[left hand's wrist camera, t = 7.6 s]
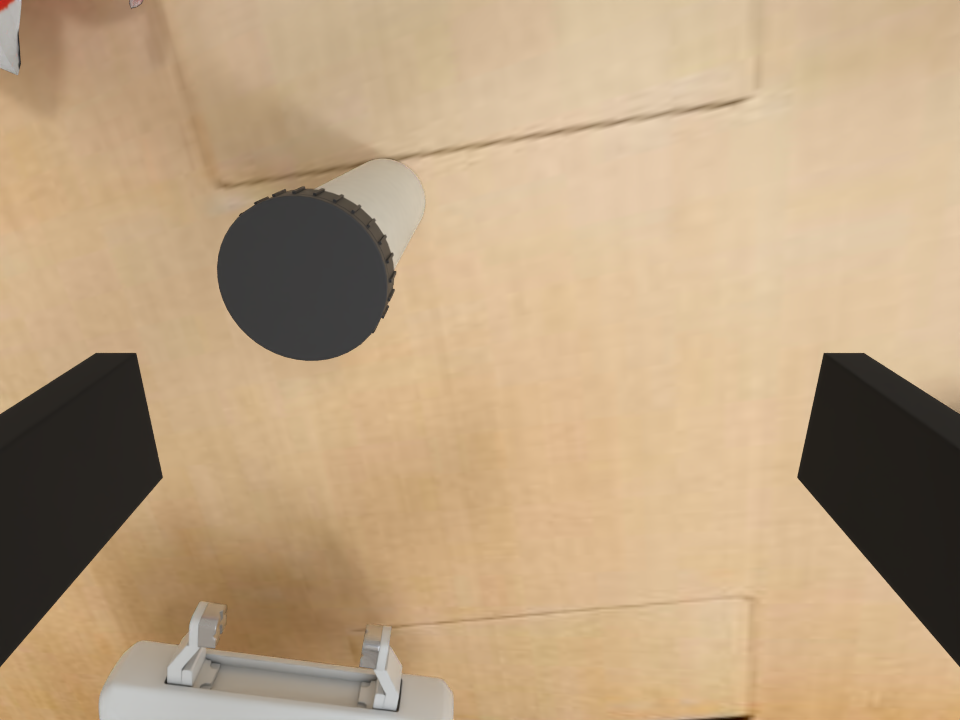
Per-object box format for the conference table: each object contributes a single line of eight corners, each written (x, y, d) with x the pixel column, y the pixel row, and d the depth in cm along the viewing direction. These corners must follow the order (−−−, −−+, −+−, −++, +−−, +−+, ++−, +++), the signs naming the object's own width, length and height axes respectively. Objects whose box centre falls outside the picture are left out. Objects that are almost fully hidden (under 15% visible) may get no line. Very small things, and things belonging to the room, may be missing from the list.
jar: (414, 150, 37) (354, 191, 20) (433, 231, 39) (394, 331, 22) (335, 168, 38) (212, 223, 21) (358, 247, 40) (261, 358, 22)
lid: (372, 169, 21) (362, 175, 20) (413, 329, 23) (408, 345, 22) (210, 205, 22) (188, 214, 20) (265, 358, 24) (249, 377, 22)
